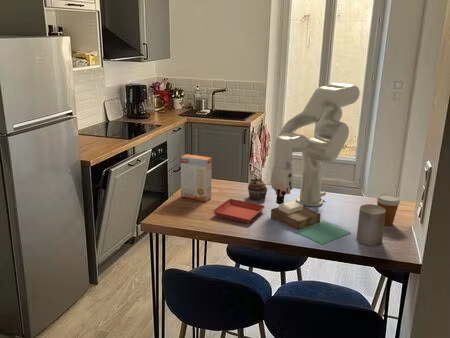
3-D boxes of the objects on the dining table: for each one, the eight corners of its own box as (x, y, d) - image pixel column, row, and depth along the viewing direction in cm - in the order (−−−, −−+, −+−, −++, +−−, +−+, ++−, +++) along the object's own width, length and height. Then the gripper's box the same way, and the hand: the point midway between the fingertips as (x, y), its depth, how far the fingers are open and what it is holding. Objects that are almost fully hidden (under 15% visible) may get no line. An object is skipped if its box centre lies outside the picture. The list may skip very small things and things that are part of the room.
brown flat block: (292, 210, 199) (293, 202, 198) (319, 222, 187) (320, 213, 186) (270, 217, 191) (271, 209, 190) (297, 230, 179) (298, 221, 178)
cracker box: (211, 198, 212) (212, 157, 206) (205, 202, 207) (206, 160, 201) (186, 193, 218) (186, 153, 212) (180, 197, 212) (180, 156, 206)
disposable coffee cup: (385, 229, 182) (389, 202, 179) (368, 220, 190) (372, 195, 187) (401, 225, 186) (405, 199, 183) (384, 217, 194) (387, 192, 191)
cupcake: (262, 202, 208) (264, 182, 205) (244, 199, 212) (245, 179, 209) (269, 196, 217) (270, 177, 214) (251, 193, 221) (252, 174, 218)
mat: (323, 221, 188) (323, 221, 188) (350, 233, 178) (350, 232, 178) (295, 231, 177) (295, 231, 177) (322, 244, 167) (322, 244, 167)
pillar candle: (374, 234, 177) (378, 200, 172) (386, 245, 167) (391, 209, 163) (351, 236, 175) (355, 201, 171) (363, 247, 166) (367, 210, 162)
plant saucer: (265, 212, 198) (265, 205, 197) (249, 226, 182) (250, 219, 181) (229, 204, 205) (229, 198, 204) (211, 218, 190) (211, 211, 189)
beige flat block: (292, 205, 195) (293, 201, 194) (302, 209, 191) (303, 205, 190) (278, 209, 190) (278, 205, 189) (288, 213, 185) (288, 209, 185)
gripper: (301, 167, 186) (297, 206, 191) (276, 159, 197) (274, 196, 203) (288, 169, 182) (285, 210, 187) (264, 161, 193) (262, 200, 198)
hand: (279, 203), depth 195 cm, fingers closed
